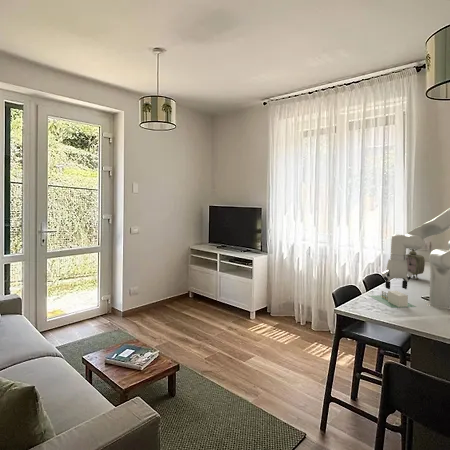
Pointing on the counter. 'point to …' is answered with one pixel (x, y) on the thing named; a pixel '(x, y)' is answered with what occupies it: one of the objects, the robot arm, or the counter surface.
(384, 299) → the header board
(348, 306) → the counter surface
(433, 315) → the counter surface
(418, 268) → the tabletop clock
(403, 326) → the counter surface
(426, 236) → the robot arm
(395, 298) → the block
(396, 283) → the counter surface
